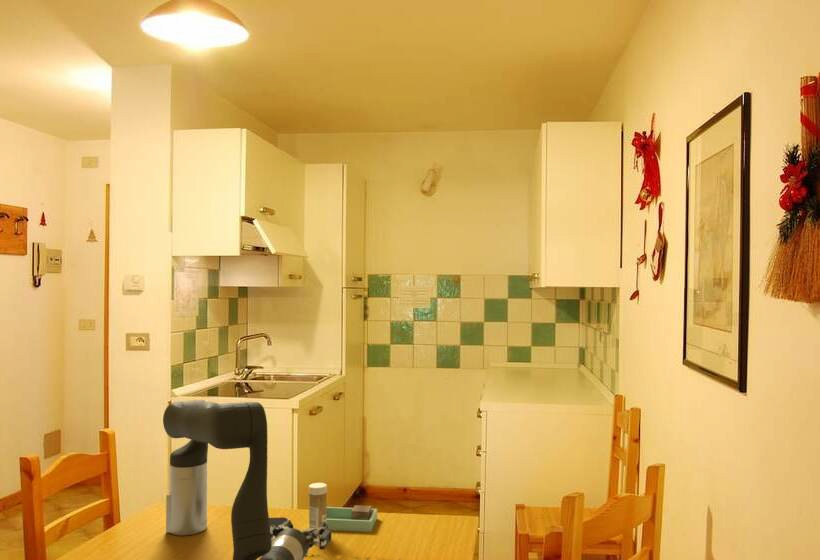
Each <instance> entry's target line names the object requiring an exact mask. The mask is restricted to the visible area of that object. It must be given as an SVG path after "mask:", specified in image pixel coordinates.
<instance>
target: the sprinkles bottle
mask: <svg viewBox="0 0 820 560" xmlns="http://www.w3.org/2000/svg"><path fill="white" fill-rule="evenodd" d="M327 493H328V485H327V484H326V482H325V483H324V482H314V483H311V484H309V485H308V495H309V501H308V502H309V503H308V511H309V512H308V514H309V515H308V519H309V520H308V527H309V528H312V527H313V528H315V529H316V528H319V526H320V525H321V523H322V522H326V524H327V507H328V506H327ZM309 534H310V535H311V533H309ZM318 536H319V532H318V533H317V537H318Z"/></svg>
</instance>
